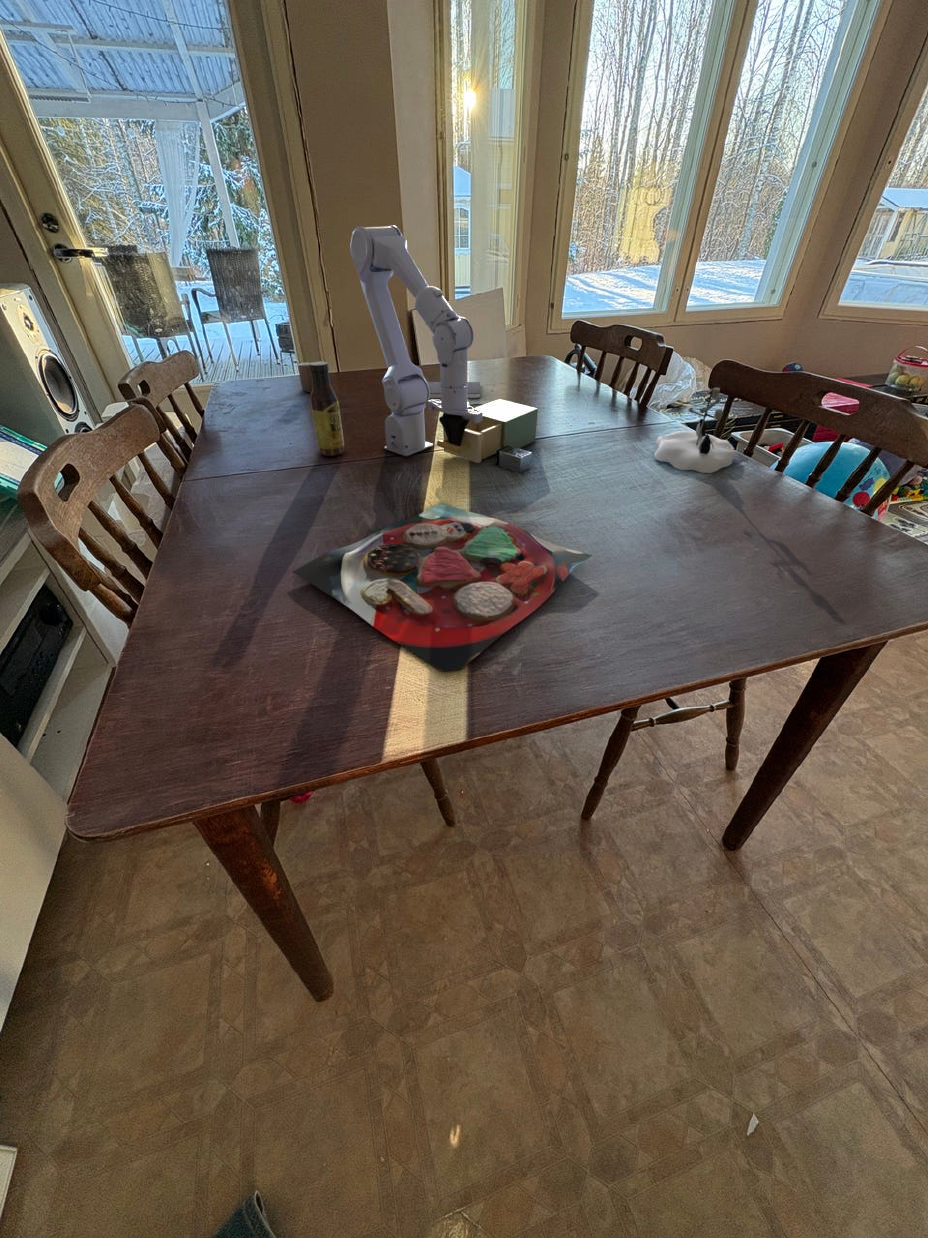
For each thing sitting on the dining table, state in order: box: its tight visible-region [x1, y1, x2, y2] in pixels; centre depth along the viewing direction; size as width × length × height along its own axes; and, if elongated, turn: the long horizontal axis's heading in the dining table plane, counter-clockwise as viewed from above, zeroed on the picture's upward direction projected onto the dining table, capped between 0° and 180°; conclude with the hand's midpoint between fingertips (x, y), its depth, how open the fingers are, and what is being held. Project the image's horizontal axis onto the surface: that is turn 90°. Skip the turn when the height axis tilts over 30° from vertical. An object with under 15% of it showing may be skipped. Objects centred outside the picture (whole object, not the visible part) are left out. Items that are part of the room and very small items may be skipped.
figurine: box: [654, 387, 738, 474], centre depth 116 cm, size 20×18×16 cm
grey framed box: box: [495, 445, 533, 474], centre depth 116 cm, size 4×7×4 cm, turn 49°
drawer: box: [436, 418, 504, 464], centre depth 120 cm, size 17×11×6 cm, turn 139°
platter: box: [292, 503, 593, 672], centre depth 83 cm, size 35×35×2 cm
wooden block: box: [297, 361, 314, 394], centre depth 163 cm, size 4×4×8 cm
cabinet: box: [474, 398, 539, 449], centre depth 127 cm, size 13×12×8 cm
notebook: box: [427, 381, 482, 400], centre depth 163 cm, size 13×2×21 cm
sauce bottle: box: [309, 361, 345, 457], centre depth 118 cm, size 7×6×20 cm
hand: (455, 447), depth 117 cm, fingers closed, pressing on drawer
